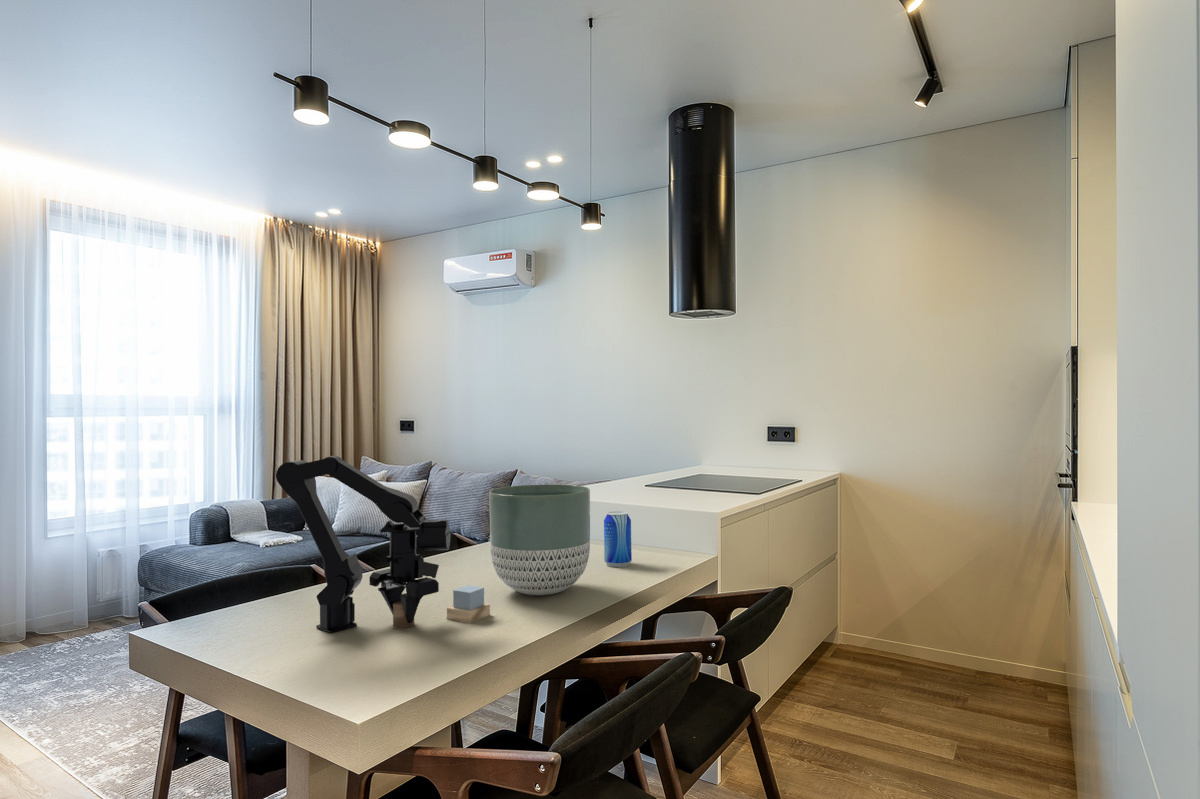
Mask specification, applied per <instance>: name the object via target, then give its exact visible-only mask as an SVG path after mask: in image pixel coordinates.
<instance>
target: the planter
mask: <svg viewBox="0 0 1200 799" xmlns="http://www.w3.org/2000/svg"><path fill="white" fill-rule="evenodd" d="M488 505H489V506H488V509H489V536H490V537H489V538H490V542H489V543H490V554H491V555H490V556H491V561H492V562H491V563H492V564H493V569H494V571H495V573H496V575H497V576H498V578H499V579H500V581H502V583H504V584H505V585H506V586H507V587H509V588H510V589H511V590H513V591H515V592H517V593H519V594H524V595H528V596H549V595H554V594H557V593H560V592H563V591H565V590H568V589H569V588H570V587H571V586H573V585H574V584H575V583H576V582H577V581H578V580H579V579H581V577H582V576H583V574H584V573H585V570H586V568H587V565H588V562H589V557H590V550H591V548H590V547H591V542H590V541H591V539H590V538H591V489H590V488H589V487H588V486H583V485H574V484H550V483H549V484H545V483H544V484H524V485H511V486H502V487H498V488H493V489H491V490H489V492H488Z"/></svg>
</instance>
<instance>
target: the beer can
mask: <svg viewBox="0 0 1200 799" xmlns="http://www.w3.org/2000/svg"><path fill="white" fill-rule="evenodd" d="M603 547H604V548H603V549H604V551H603V552H604V555H603V556H604V558H603V559H604V562H605V563H606V566H608V567H611V568H625V567H628V566H630V563H631V562H632V558H633V557H632V555H633V554H632V520H631V518H630V516H629V512H627V511H621V510H620V511H618V510H617V511H609V512H606V516H605V517H604V520H603Z"/></svg>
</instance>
